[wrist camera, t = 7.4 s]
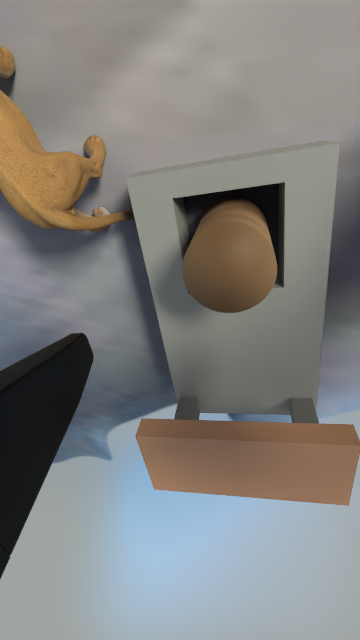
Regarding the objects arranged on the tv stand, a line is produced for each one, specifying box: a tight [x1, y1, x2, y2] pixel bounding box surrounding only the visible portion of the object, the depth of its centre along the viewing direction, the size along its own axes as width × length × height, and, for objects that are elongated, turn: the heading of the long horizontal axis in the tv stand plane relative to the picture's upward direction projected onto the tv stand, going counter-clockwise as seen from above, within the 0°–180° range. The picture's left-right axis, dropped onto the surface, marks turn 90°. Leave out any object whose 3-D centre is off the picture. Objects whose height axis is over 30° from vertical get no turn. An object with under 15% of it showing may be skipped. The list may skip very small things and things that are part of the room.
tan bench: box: [136, 397, 360, 505], centre depth 20 cm, size 11×5×9 cm, turn 99°
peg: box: [182, 194, 277, 313], centre depth 16 cm, size 4×4×7 cm
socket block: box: [126, 141, 340, 415], centre depth 20 cm, size 10×17×3 cm, turn 9°
